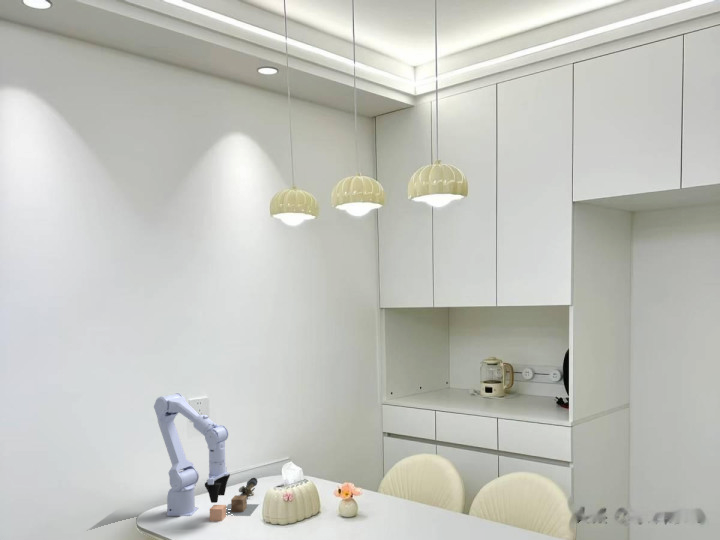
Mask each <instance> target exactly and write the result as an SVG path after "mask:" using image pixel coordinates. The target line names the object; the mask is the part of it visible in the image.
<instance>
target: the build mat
mask: <svg viewBox="0 0 720 540" xmlns="http://www.w3.org/2000/svg"><path fill="white" fill-rule="evenodd" d="M259 505H260V504H258V503H257V504H255V503H247V508H246V509H245V510H244V512H231V510H228V509H231V503H228V504H227V505H226V508H227V509H226V513H227V514H226V515H227V516H226V517H228V515H231V514H233V515H234V517H235V516H236V517H238V516H239V517H251V515H252V514H253V513H254V512H255V511H256V510H257V508H258V507H259ZM228 512H230V513H228ZM233 515H231V516H233ZM231 516H230V517H231Z"/></svg>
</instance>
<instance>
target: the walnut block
mask: <svg viewBox="0 0 720 540" xmlns="http://www.w3.org/2000/svg"><path fill="white" fill-rule="evenodd" d="M247 500H248V497H247V496H246V495H236V494H234V496H233V497H232V498H231V499H230V501H231V503H230V504H231V512H244V510H245V509H246V508H247V504H248V501H247Z"/></svg>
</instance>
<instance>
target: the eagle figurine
mask: <svg viewBox="0 0 720 540" xmlns="http://www.w3.org/2000/svg"><path fill="white" fill-rule="evenodd" d="M257 485H258V479H257V478H256V477H252V478H250V479H249V480H248V481H247V482H246V485H245V486H244V485H243V486H241V487H239V489H238V493H243V495H244V496H247V498H248V497H249V496H250V495H251V496H255V493H254V491H255V489H256V486H257Z"/></svg>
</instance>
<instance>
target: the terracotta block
mask: <svg viewBox="0 0 720 540" xmlns="http://www.w3.org/2000/svg"><path fill="white" fill-rule="evenodd" d="M226 506H227V505H226V504H213V505H212V506H211V507H210V508H209V521H210V522H222V521H224V519H226V518H227V516H226Z"/></svg>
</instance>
